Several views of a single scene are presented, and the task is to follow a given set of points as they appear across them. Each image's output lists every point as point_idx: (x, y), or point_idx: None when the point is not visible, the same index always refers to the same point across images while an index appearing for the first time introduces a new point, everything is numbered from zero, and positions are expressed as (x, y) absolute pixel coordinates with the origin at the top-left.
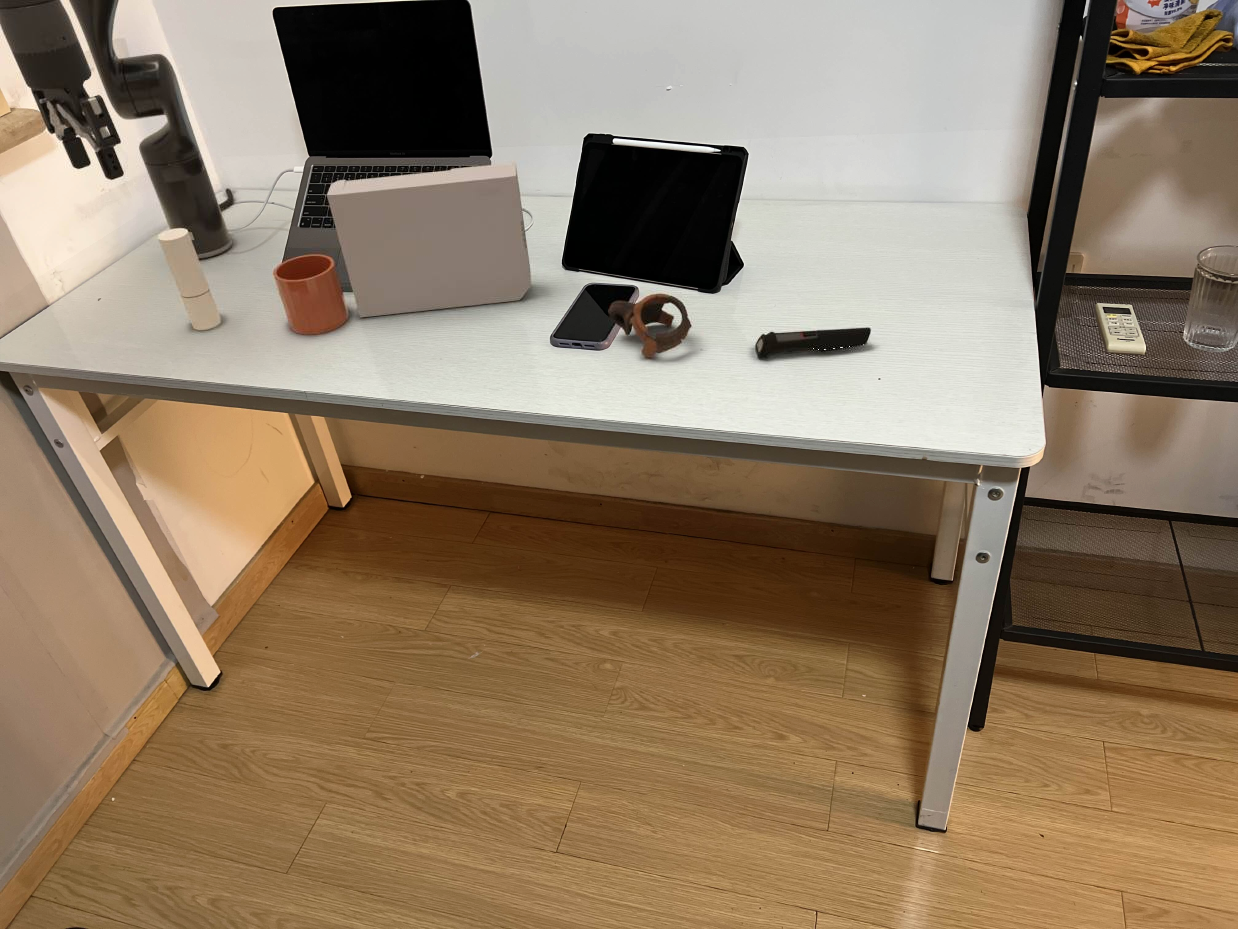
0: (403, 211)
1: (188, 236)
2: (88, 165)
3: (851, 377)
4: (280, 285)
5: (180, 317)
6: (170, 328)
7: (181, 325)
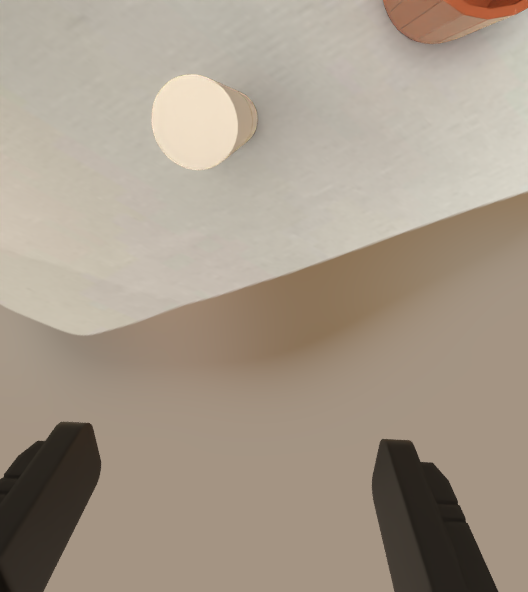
0: None
1: (228, 93)
2: (92, 429)
3: None
4: (477, 23)
5: None
6: None
7: None
